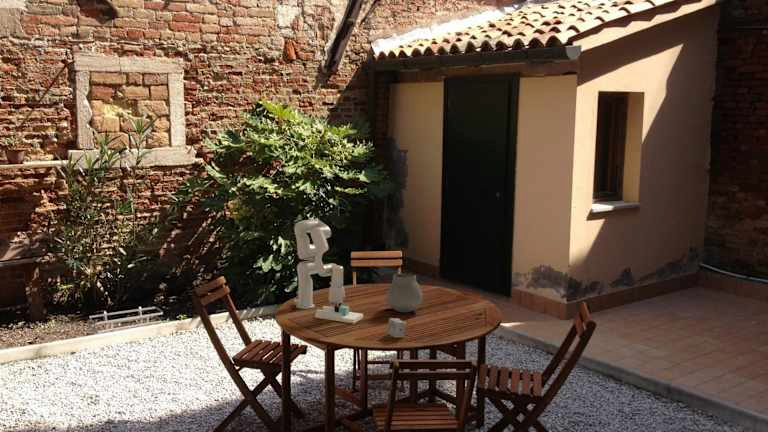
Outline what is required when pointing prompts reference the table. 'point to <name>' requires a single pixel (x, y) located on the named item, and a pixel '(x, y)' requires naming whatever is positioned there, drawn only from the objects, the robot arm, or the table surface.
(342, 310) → the block
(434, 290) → the table surface
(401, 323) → the incense holder
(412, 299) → the ceramic pot
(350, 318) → the deck
